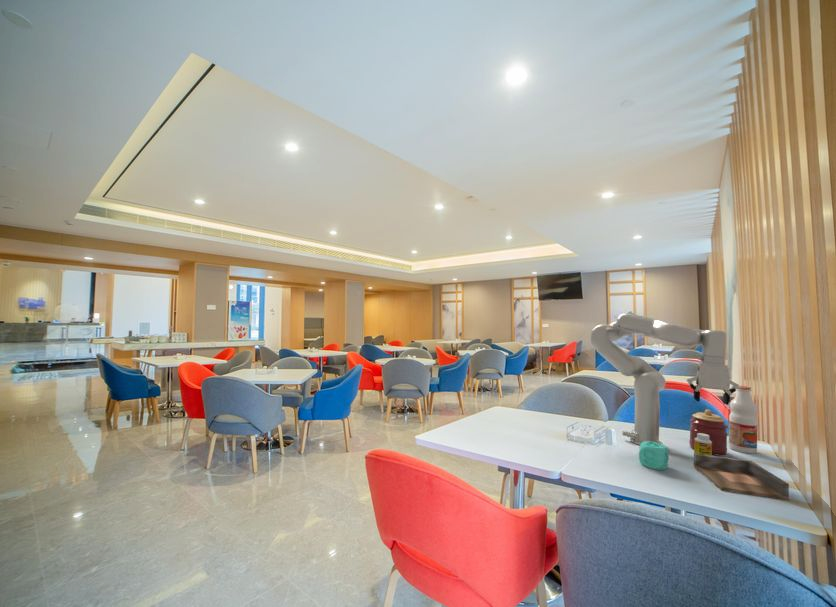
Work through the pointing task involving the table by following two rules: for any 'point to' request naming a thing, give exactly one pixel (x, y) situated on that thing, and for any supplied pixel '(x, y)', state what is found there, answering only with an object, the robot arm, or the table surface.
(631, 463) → the table surface
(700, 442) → the supplement bottle
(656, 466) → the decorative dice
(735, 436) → the fruit juice
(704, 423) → the canister
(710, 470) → the wooden tray
